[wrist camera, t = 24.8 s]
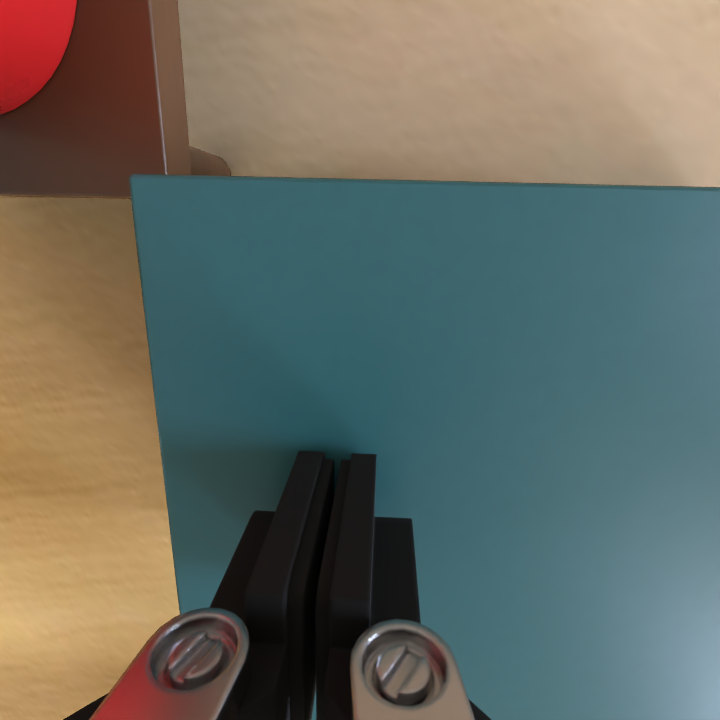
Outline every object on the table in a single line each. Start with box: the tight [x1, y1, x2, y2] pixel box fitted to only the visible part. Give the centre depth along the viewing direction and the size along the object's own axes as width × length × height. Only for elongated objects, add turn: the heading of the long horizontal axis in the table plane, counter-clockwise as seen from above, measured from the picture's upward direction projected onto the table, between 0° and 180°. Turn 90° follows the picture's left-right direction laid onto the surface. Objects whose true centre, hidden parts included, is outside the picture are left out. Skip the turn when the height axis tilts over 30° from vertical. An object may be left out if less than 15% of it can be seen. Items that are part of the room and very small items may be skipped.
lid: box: [129, 174, 720, 720], centre depth 11 cm, size 15×14×1 cm
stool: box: [0, 0, 231, 199], centre depth 12 cm, size 9×9×6 cm
